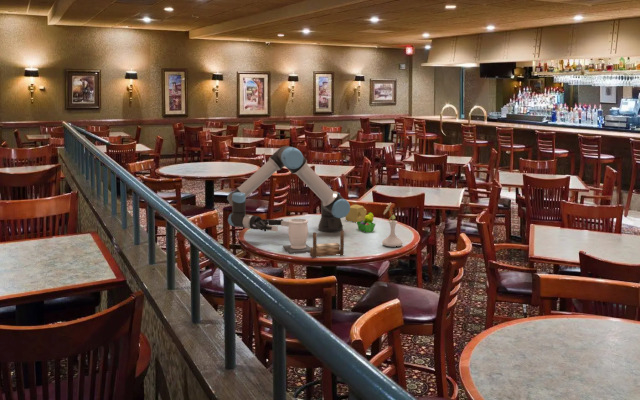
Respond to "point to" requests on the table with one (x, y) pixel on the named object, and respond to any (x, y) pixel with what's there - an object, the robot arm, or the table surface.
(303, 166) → the robot arm
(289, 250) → the mat
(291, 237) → the jar
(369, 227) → the fruit basket
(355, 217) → the cheese
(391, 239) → the flower in vase
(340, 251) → the board rack
